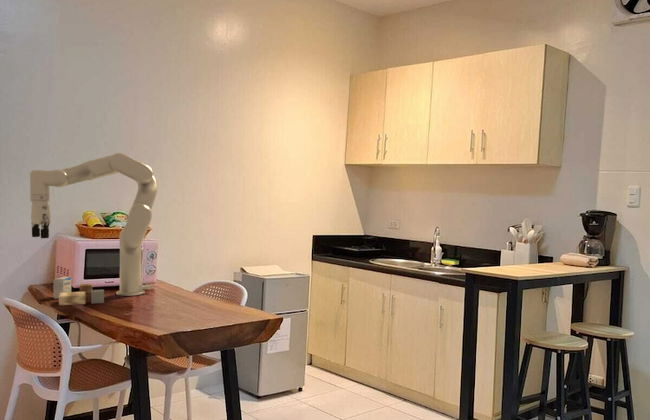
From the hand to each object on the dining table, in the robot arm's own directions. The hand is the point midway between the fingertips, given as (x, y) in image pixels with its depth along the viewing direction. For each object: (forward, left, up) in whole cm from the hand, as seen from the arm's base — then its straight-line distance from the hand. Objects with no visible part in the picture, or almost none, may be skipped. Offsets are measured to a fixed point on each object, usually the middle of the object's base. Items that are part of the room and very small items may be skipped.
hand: (40, 237), depth 255 cm
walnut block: (-19, +4, -27) cm, 33 cm away
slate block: (-24, +16, -27) cm, 39 cm away
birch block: (-14, +14, -27) cm, 33 cm away
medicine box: (-9, -1, -27) cm, 29 cm away
